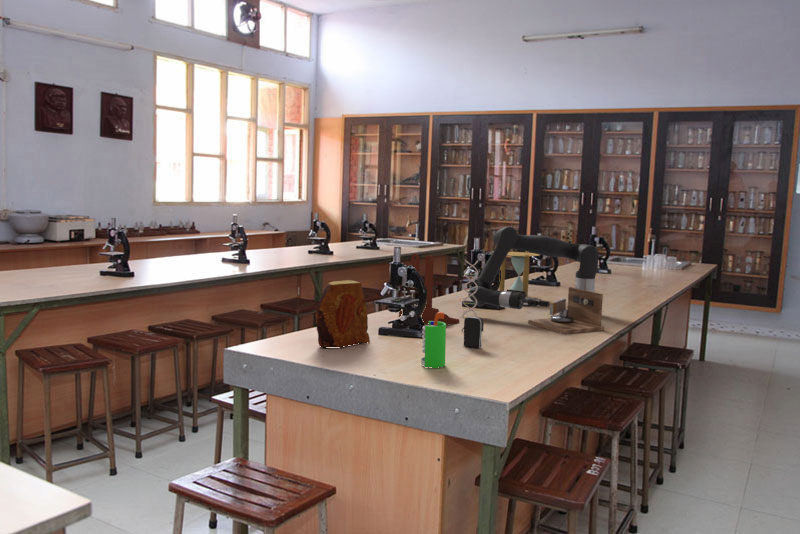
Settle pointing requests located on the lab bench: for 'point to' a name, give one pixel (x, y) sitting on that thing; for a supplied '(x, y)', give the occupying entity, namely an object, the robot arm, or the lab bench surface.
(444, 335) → the green-shelled ribbed roller
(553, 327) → the levelling base
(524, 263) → the hourglass
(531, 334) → the lab bench surface
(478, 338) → the battery charger
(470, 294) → the dna model
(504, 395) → the lab bench surface
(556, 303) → the cam foot
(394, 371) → the lab bench surface
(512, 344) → the lab bench surface
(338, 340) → the fossil rock
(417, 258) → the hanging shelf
